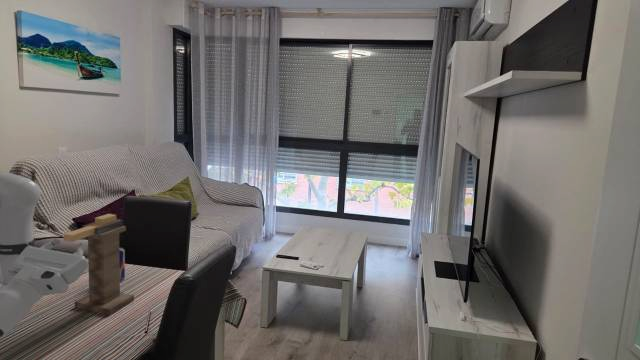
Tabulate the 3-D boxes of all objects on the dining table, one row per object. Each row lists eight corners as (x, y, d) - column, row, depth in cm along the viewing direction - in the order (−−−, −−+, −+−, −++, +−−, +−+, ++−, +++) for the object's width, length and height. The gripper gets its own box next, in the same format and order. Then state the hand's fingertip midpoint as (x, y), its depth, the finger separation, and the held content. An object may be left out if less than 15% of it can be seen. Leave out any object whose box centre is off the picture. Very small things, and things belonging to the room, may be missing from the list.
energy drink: (118, 283, 154) (118, 253, 152) (106, 281, 155) (105, 251, 153) (127, 277, 159) (127, 248, 157) (115, 275, 160) (115, 246, 158)
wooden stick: (63, 240, 121) (63, 227, 120) (108, 225, 138) (108, 213, 137) (72, 241, 120) (71, 228, 119) (116, 226, 137) (116, 214, 136)
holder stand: (74, 307, 134) (72, 224, 130) (100, 293, 145) (98, 216, 140) (110, 315, 131) (109, 230, 126) (133, 300, 142) (133, 221, 137)
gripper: (10, 280, 114) (46, 244, 125) (70, 293, 110) (103, 254, 120) (-2, 266, 111) (36, 230, 121) (60, 279, 106) (94, 240, 116)
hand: (70, 242), depth 120 cm, fingers open, 8 cm apart
